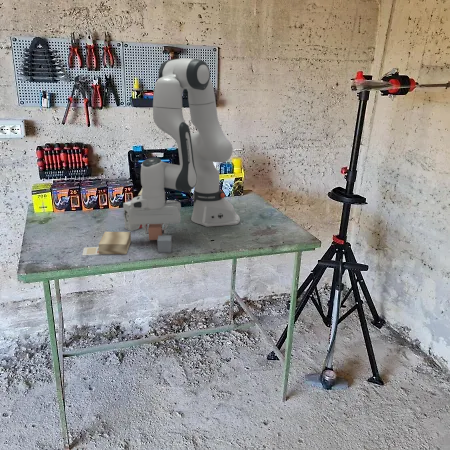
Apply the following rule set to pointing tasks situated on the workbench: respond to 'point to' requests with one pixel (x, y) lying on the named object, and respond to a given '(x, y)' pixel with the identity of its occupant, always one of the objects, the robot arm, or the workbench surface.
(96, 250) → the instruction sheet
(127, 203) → the ink box
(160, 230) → the terracotta brick
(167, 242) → the grey brick
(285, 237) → the workbench surface
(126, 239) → the base brick
